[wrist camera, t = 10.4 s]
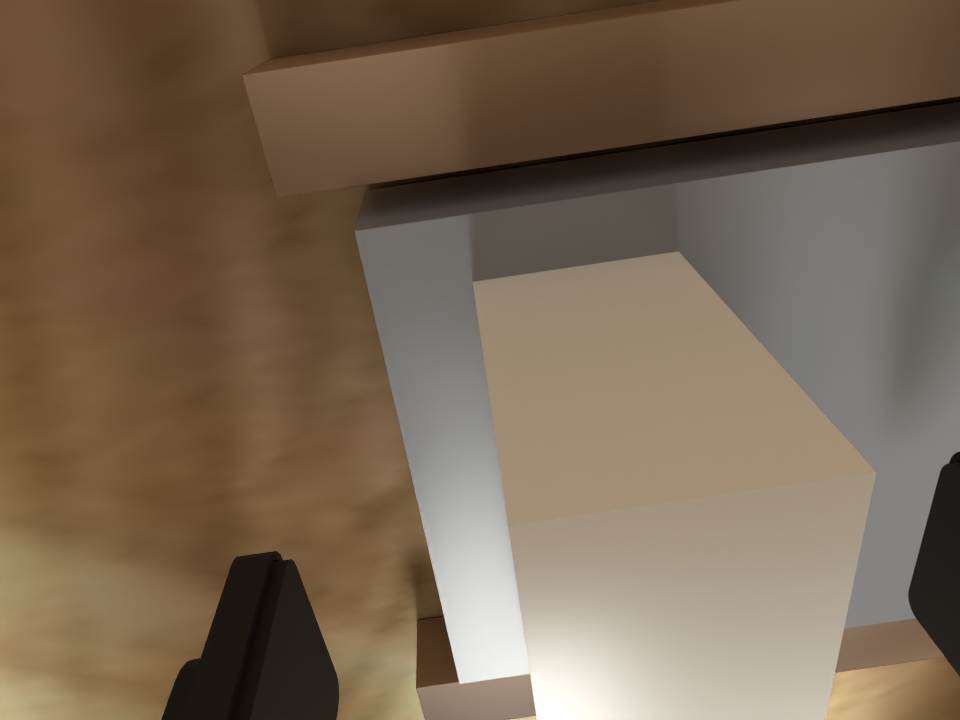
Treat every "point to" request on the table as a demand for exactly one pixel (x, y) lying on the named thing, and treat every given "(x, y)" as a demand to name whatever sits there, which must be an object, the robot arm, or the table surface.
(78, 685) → the table surface
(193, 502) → the table surface
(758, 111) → the track
